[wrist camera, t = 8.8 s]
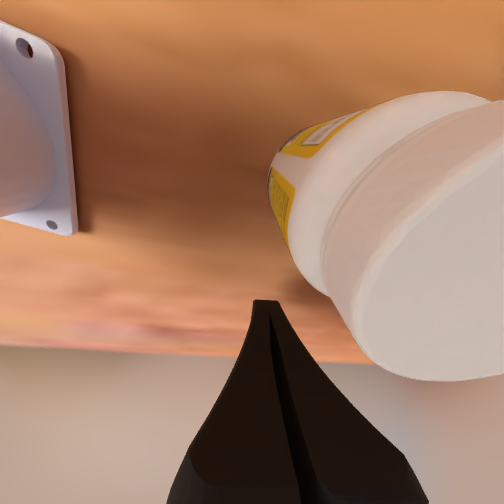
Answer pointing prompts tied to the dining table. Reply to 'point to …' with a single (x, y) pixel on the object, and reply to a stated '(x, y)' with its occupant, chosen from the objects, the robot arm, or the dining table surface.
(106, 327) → the dining table surface
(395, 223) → the supplement bottle
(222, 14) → the dining table surface
